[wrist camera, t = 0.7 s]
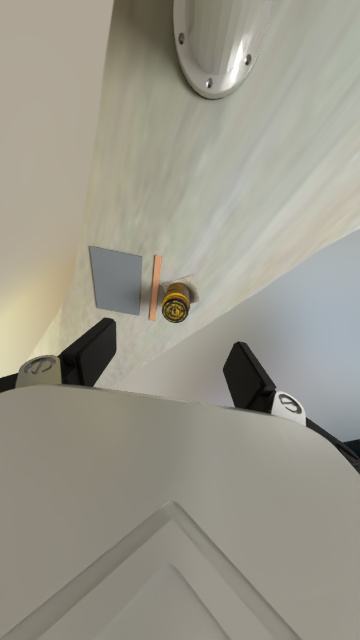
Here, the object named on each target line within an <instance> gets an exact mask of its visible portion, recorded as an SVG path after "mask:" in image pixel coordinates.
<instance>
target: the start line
mask: <svg viewBox="0 0 360 640" xmlns="http://www.w3.org/2000/svg"><path fill="white" fill-rule="evenodd" d="M161 260H162V256H158V255H155V266H154V276H153V287H152V298H151V309H150V320H152V321H155V313H156V305H157V296H158V287H159V278H160V269H161Z"/></svg>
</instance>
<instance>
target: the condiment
mask: <svg viewBox="0 0 360 640" xmlns="http://www.w3.org/2000/svg"><path fill="white" fill-rule="evenodd" d="M162 287H163V289H164V292H165V297H164V299H163V302H162V313H163V316H164V317H165V318H166V320H168V321H170V322H173V323H179V322H182V321H183V320H185V318H186V317H187V315H188V311H189V309H190V304H191V303H194V302H198V301H199V297H198V293H197V289H196V286H195V282H194V278H193V275H191V276H188V277H185V278H182V279H179V280H175V281H172V282H169V283H166V284H163V285H162Z"/></svg>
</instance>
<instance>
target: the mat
mask: <svg viewBox="0 0 360 640" xmlns="http://www.w3.org/2000/svg"><path fill="white" fill-rule="evenodd" d="M90 253H91V261H92V270H93V278H94V286H95V294H96V303H97V308H100V309H105V310H111V311H117V312H122V313H128V314H133V315H139V309H140V288H141V267H142V257H141V256H136V255H131V254H127V253H122V252H117V251H112V250H107V249H103V248H98V247H93V246H90Z"/></svg>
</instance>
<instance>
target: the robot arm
mask: <svg viewBox="0 0 360 640" xmlns="http://www.w3.org/2000/svg"><path fill="white" fill-rule="evenodd" d="M272 3H273V0H174V3H173V23H174V37H175V46H176V51H177V55H178V60H179V63H180V66H181V68H182V71H183V74H184V75H185V77H186V79H187V81H188V83H189V84H190V85H191V86H192V88H193V89H194V90H195V91H196V92H197V93H199V94H200V95H201V96H204V97H206V98H209V99H218V98H222V97H225V96H227V95H228V94H230V93H232V92H233V91H234V90H235V89H236V88H238V87H239V86H240V85H241V83H242V82H243V81H244V80H245V78H246V77H247V76H248V74H249V72H250V71H251V69H252V67H253V65H254V63H255V61H256V59H257V56H258V54H259V52H260V49H261V47H262V44H263V41H264V38H265V36H266V32H267V28H268V24H269V20H270V16H271V10H272ZM208 87H210V88H208ZM115 353H116V322H115V321H114V320H113V319H111V318H103V319H102V320H101V321H100V322H98V323H97V324H96V325H95V326H93V327H92V328H91V329H90V330H88V331H87V332H86V333H85V334H84V335H82V336H81V337H80V338H79V339H77V340H76V341H75V342H74V343H72V344H71V345H70V346H69V347H68V348H66V349H65V350H64V351H63V352H61V354H60V355H59V356H54V355H45V356H40V357H36V358H34V359H31V360H29V361H28V362H26V363H24V364H23V365H22V366H21V367H20V369H19V372H18V373H16V374H13V375H9V376H6V377H2V378H0V640H360V459H359V458H358V457H357V455H356V454H355V453H354V452H353V451H352V450H351V449H350V448H349V447H347V446H346V445H345V444H343V443H342V442H341V441H339V440H338V439H336V438H335V437H333V436H332V435H331V434H329V433H328V432H326V431H325V430H324V429H322V428H321V427H319V426H318V425H316V424H315V423H314V422H312V421H311V420H309V419H308V418H307V417H306V414H305V410H304V408H303V406H302V405H301V404H300V403H299V402H298V401H297V400H296V399H295V398H294V397H292V396H291V395H289V394H287V393H284V392H276V391H275V388H276V386H275V384H274V383H273V381H272V380H271V379H270V377H269V376H268V374H267V373H266V371H265V370H264V368H263V367H262V366H261V364H260V363H259V361H258V360H257V358H256V357H255V355H254V354H253V353H252V351H251V350H250V348H249V347H248V345H247V344H246V343H244V342H237V343H235V344H234V345H233V348H232V350H231V352H230V354H229V356H228V358H227V361H226V363H225V365H224V368H223V373H224V375H225V378H226V382H227V384H228V388H229V391H230V393H231V396H232V399H233V402H234V405H235V408H234V407H227V406H221V405H215V404H208V403H201V402H194V401H188V400H181V399H174V398H167V397H161V396H153V395H146V394H140V393H133V392H126V391H119V390H112V389H104V388H96V387H93V386H94V384H95V383H96V381H97V380H98V378H99V377H100V375H101V374H102V372H103V371H104V370H105V368H106V367H107V365H108V364H109V362H110V361H111V359H112V358H113V356H114V355H115Z"/></svg>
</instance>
